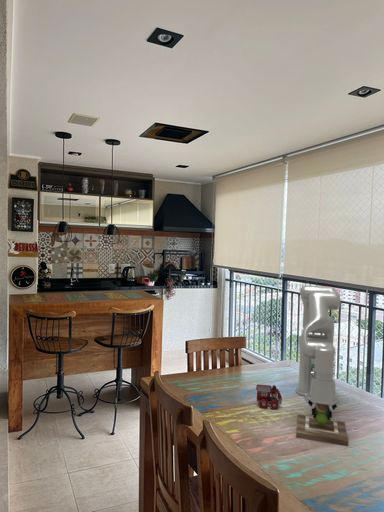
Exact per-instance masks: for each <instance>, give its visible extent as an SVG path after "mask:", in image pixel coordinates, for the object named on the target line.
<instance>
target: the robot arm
mask: <svg viewBox="0 0 384 512" xmlns="http://www.w3.org/2000/svg"><path fill="white" fill-rule="evenodd" d="M299 290H300V291H299V295H300V299H301V302H302V306H303V310H302V311H303V314H302V315H303V316H302V331H301V335H300V336H299V338H298V346H299V347H298V348H299V367H298V369H299V371H298V372H299V373H298V386H297V387H295V392H296V393H297V394H298V395H300V396H303V399H304V401H305V402H306V403H308V406H310V407H311V416H312V417H313V418H315V412H316V407H315V403H317V404H324V405H329V409H328V420H329V421H330V419H332V418H333V411H334V410H336V408H339V407H340V406H341V405H342V402H341V400H340V399H339V398H338V396H337V394H336V383H335V382H336V381H335V379H334V363H335V362H334V360H335V355H336V348H335V346H334V340H335V339H334V338H335V337H334V336H335V322H334V320H335V319H334V318H333V317H332V316H329V310H330V311H338V310H339V309H340V308H341V297H340V294H339V292H338V291H337V289H336V288H335V287H332V286H322V285H303V286H301V287H300V289H299ZM312 364H315V368H313V372H311V365H312ZM312 375H314V377H312Z"/></svg>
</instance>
